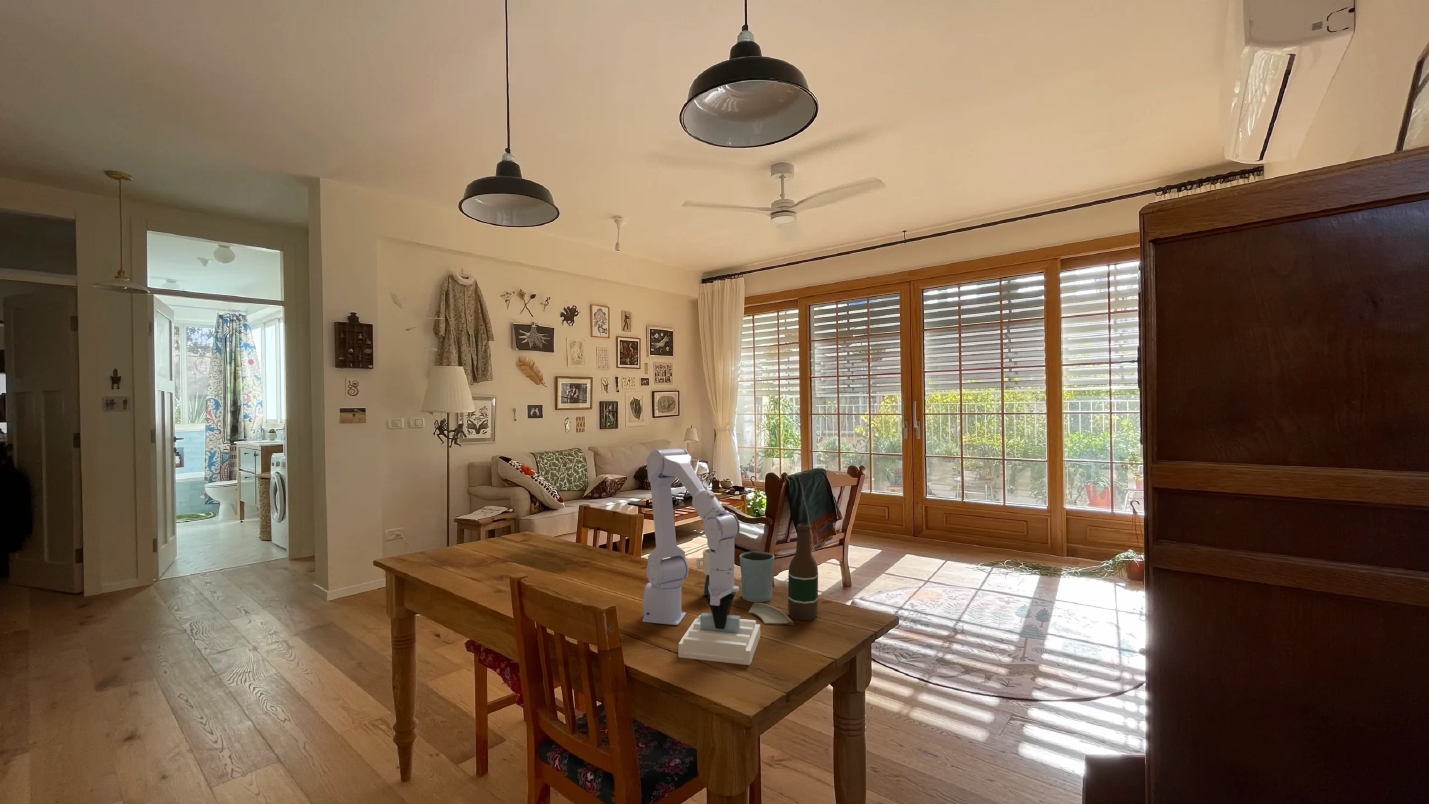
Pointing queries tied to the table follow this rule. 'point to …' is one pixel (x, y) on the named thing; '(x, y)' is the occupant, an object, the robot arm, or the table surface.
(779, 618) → the ceramic fragment
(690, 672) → the table surface
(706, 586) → the cream and green mug
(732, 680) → the table surface
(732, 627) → the tile
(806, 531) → the beer bottle
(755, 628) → the rack
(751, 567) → the light blue cup
